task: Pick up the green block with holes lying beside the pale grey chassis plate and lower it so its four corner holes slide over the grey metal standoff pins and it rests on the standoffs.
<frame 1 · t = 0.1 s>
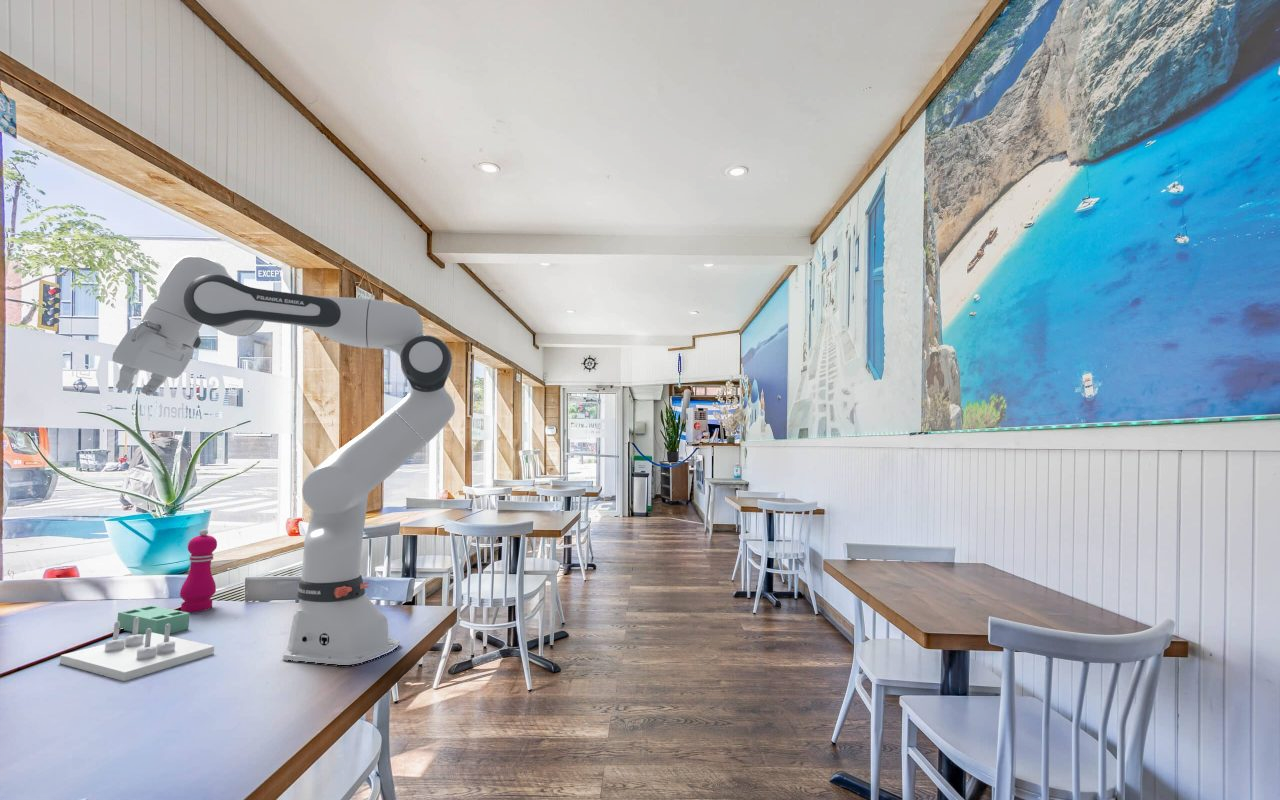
hand: (134, 392, 112), 52 cm above the table, tool tilted 20°, fingers open, 8 cm apart
pepper mill: (196, 609, 144), on the table
chassis: (139, 658, 110), on the table
green block with holes: (152, 628, 128), on the table
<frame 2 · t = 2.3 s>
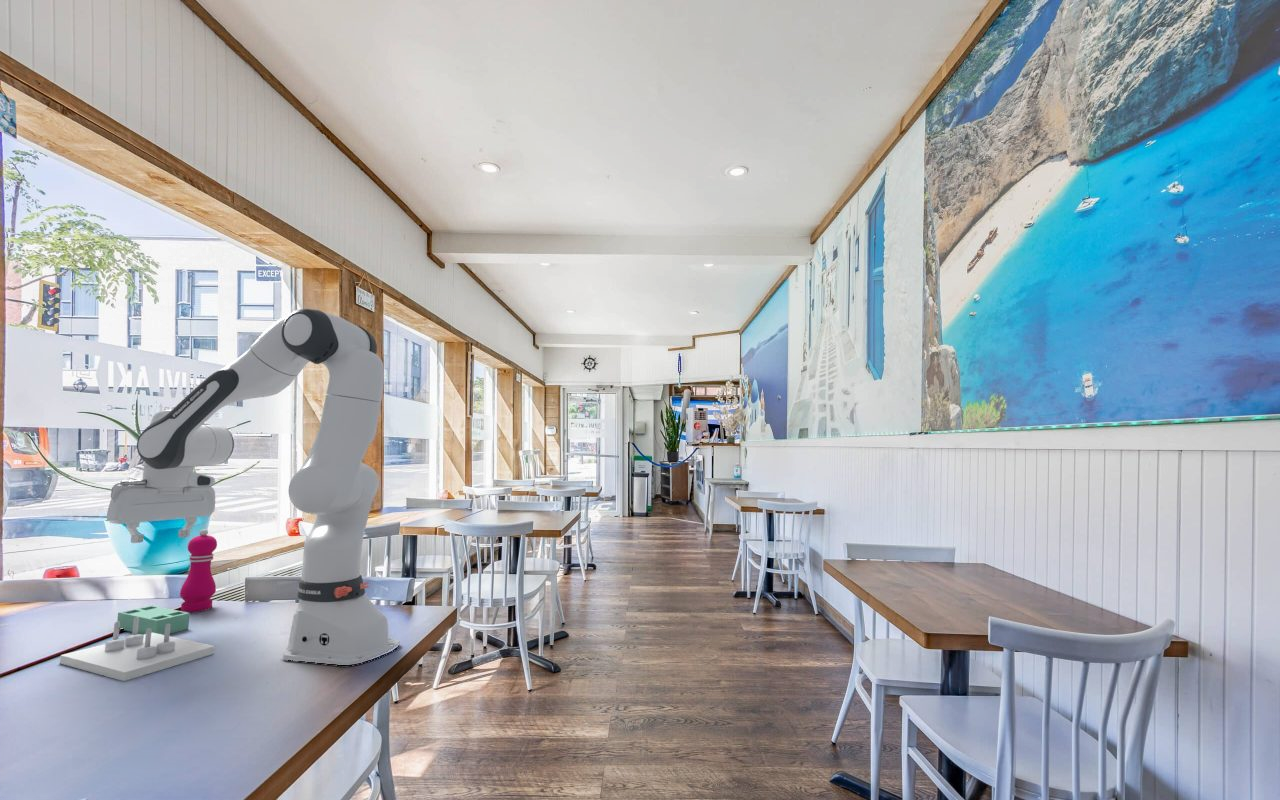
hand: (161, 539, 130), 20 cm above the table, tool pointing down, fingers open, 8 cm apart
nothing on the table moved.
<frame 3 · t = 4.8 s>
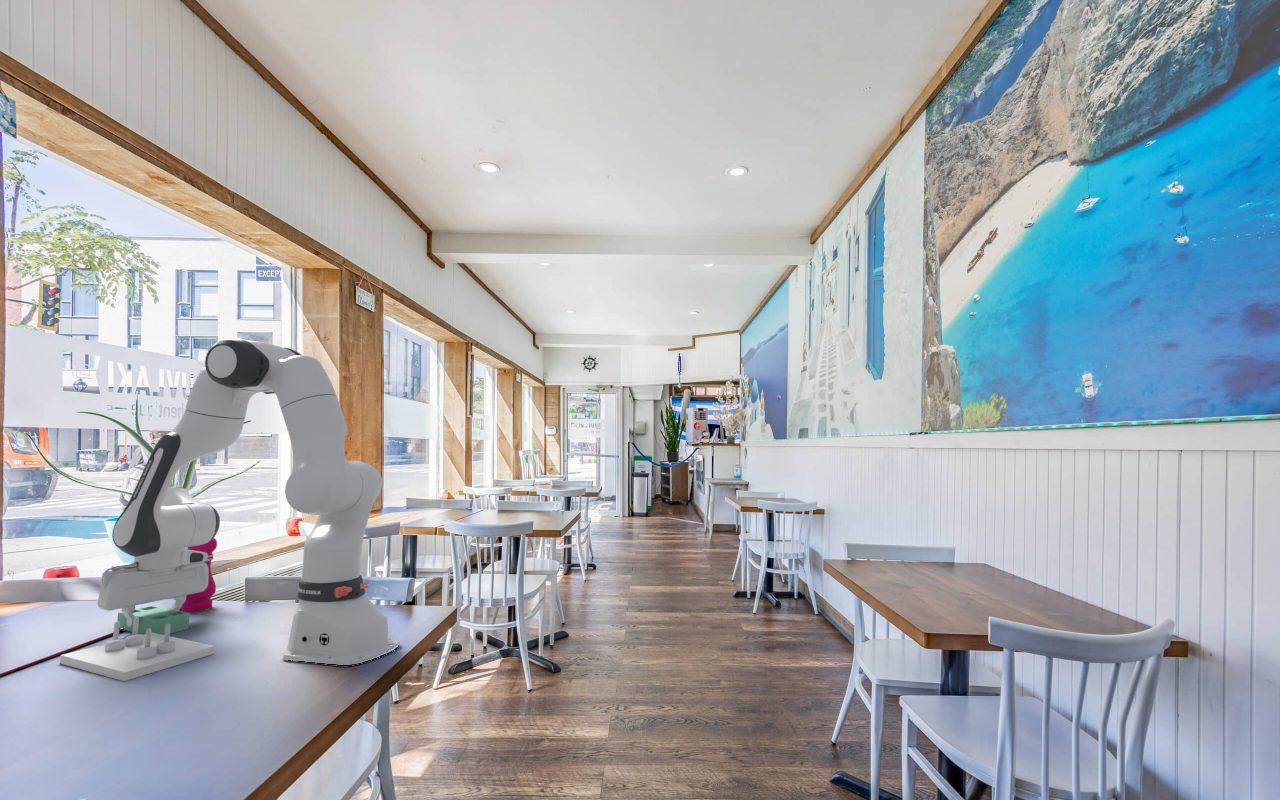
hand: (153, 620, 128), 2 cm above the table, tool pointing down, fingers closed on green block with holes, 6 cm apart
green block with holes: (152, 628, 128), on the table, touching gripper
everything else where it was.
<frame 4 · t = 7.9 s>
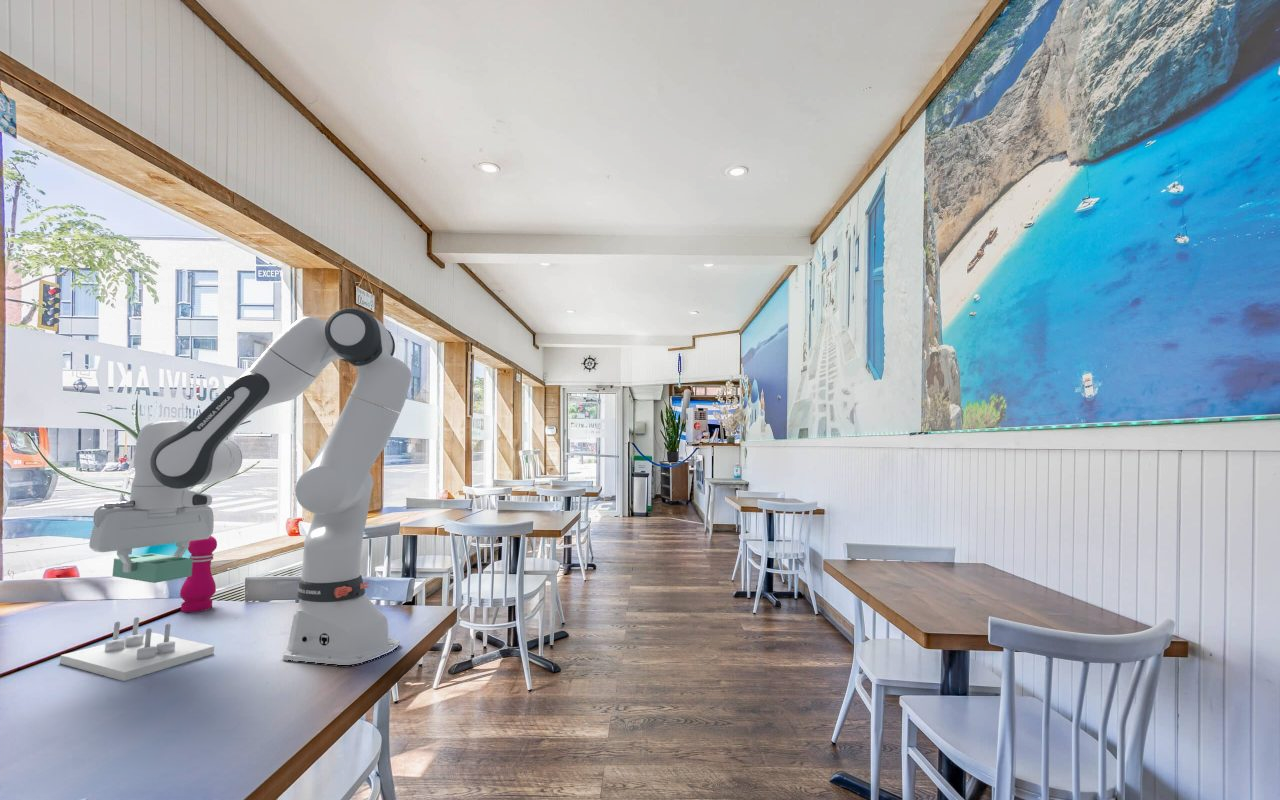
hand: (153, 567, 115), 17 cm above the table, tool pointing down, fingers closed on green block with holes, 6 cm apart
green block with holes: (152, 576, 115), point 15 cm above the table, touching gripper
everything else where it was.
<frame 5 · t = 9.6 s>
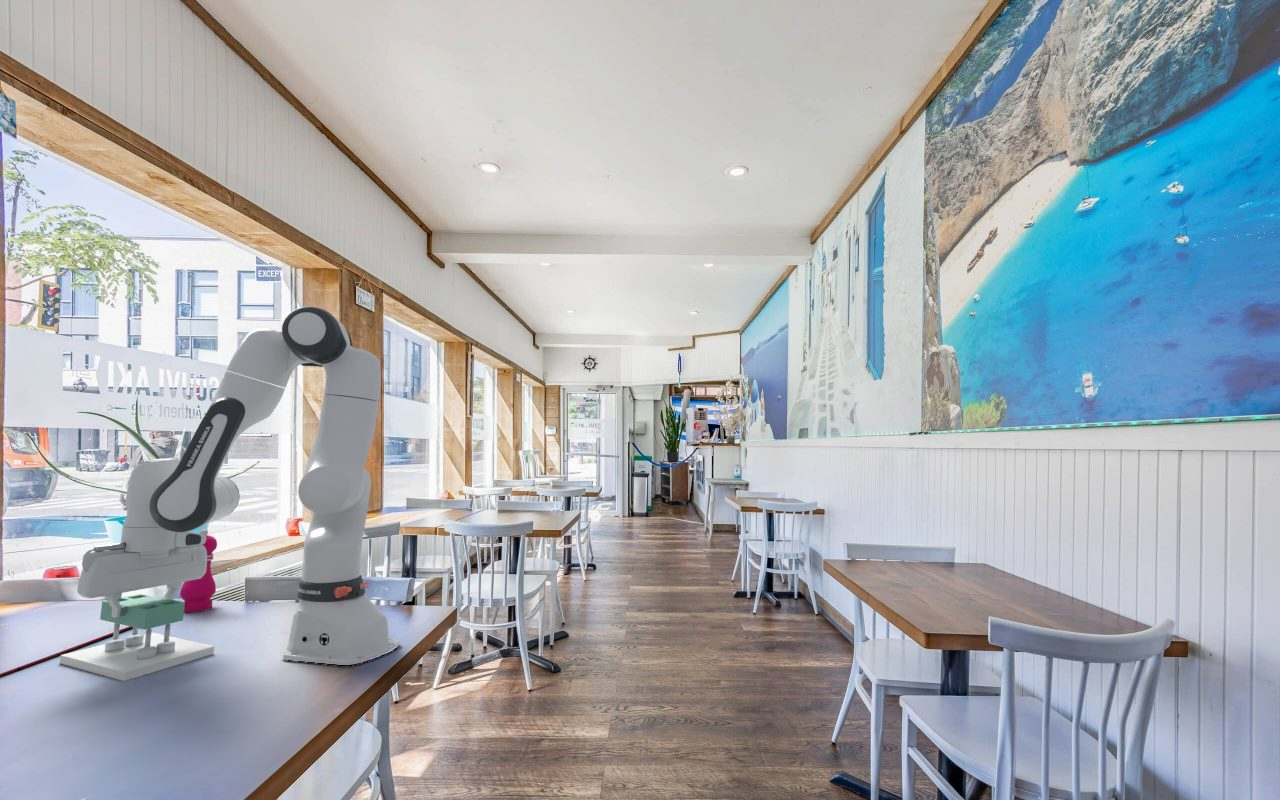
hand: (143, 611, 111), 9 cm above the table, tool pointing down, fingers closed on green block with holes, 6 cm apart
green block with holes: (141, 620, 111), point 7 cm above the table, touching gripper
everything else where it was.
when the fingers open (6 cm above the table, at t = 11.1 s): green block with holes drops 1 cm, resting on chassis.
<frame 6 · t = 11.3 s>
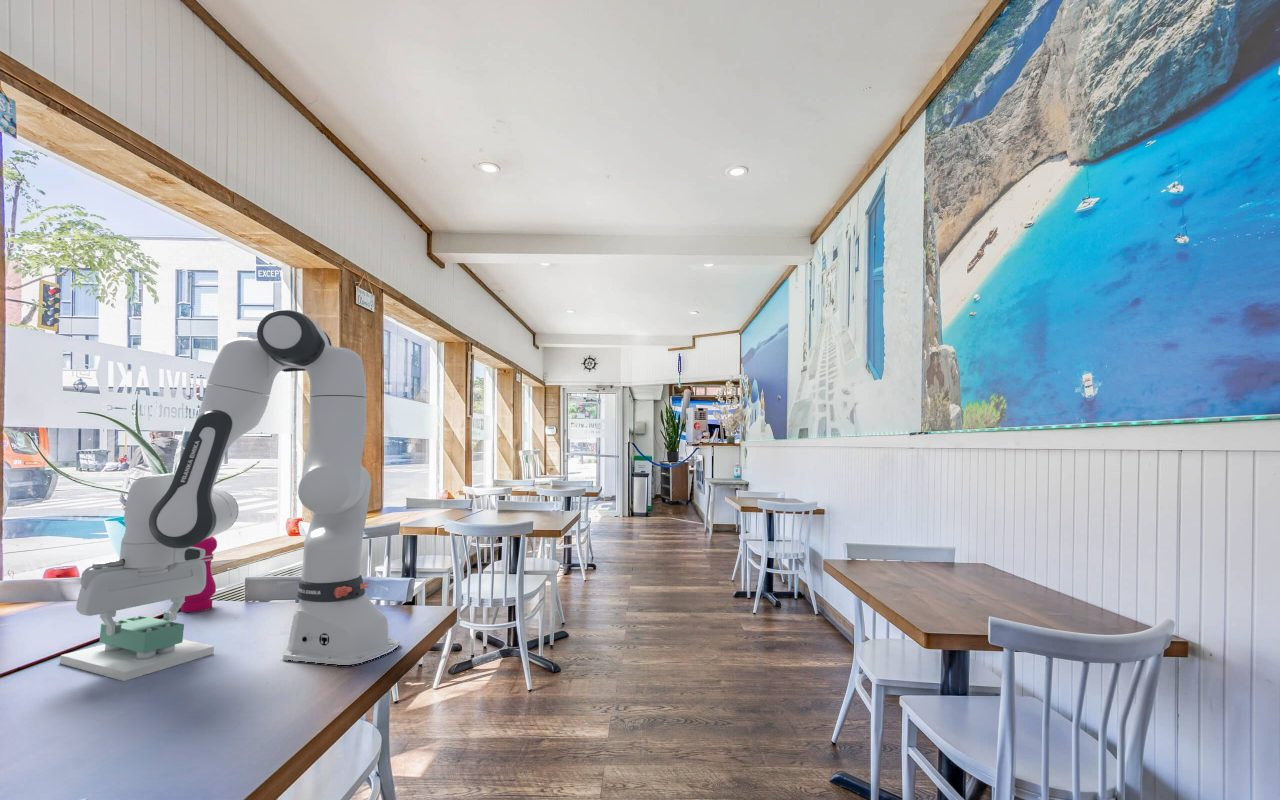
hand: (142, 627, 111), 6 cm above the table, tool pointing down, fingers open, 8 cm apart
green block with holes: (140, 642, 111), point 3 cm above the table, touching chassis
everything else where it was.
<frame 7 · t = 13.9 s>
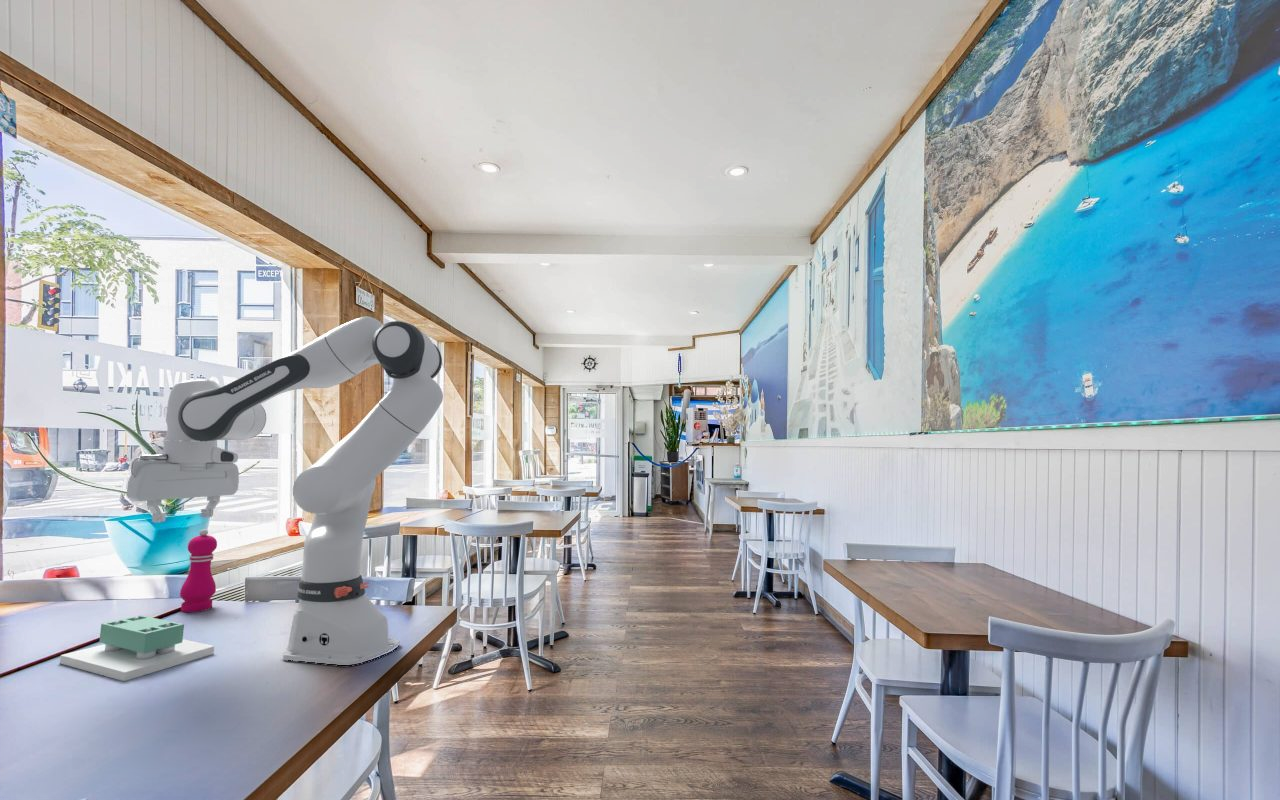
hand: (183, 519, 121), 26 cm above the table, tool pointing down, fingers open, 8 cm apart
nothing on the table moved.
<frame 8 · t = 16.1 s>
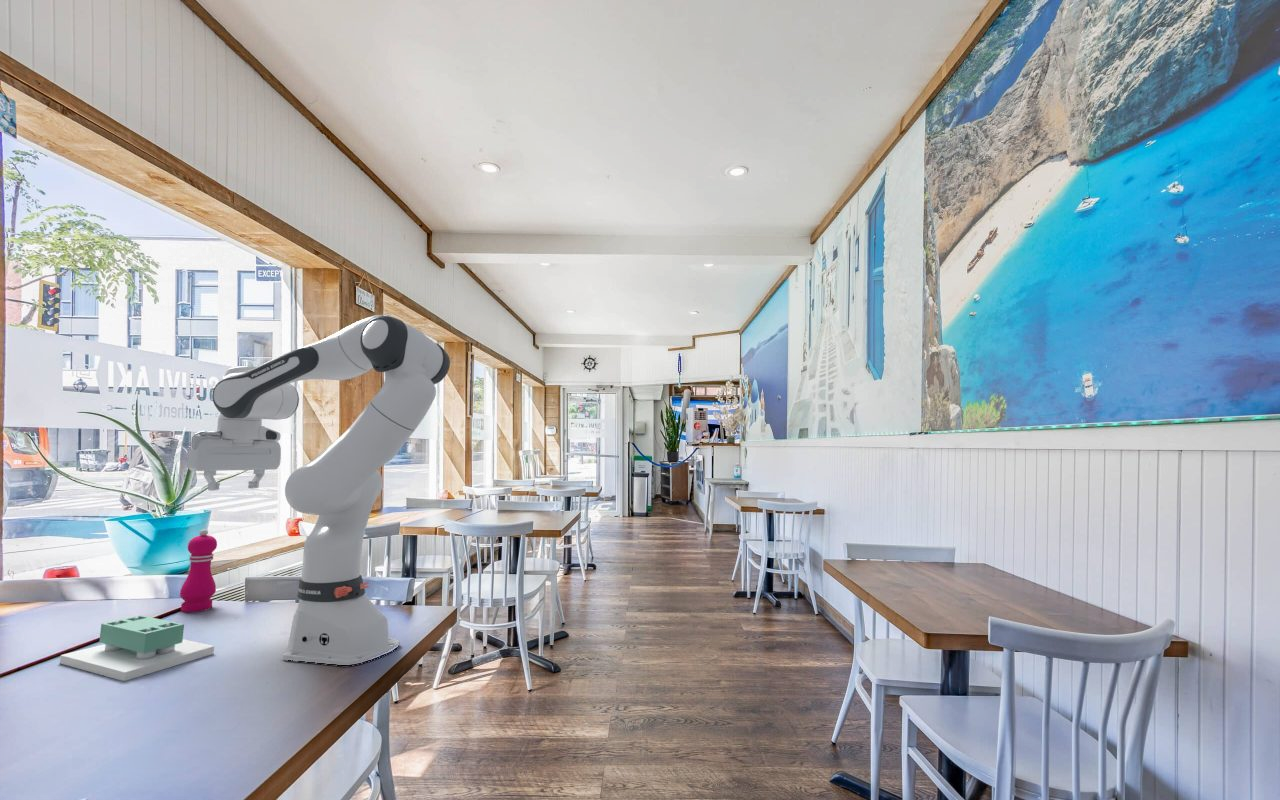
hand: (233, 489, 137), 31 cm above the table, tool pointing down, fingers open, 8 cm apart
nothing on the table moved.
at the end: green block with holes 0.1 cm off-centre on the chassis, point 3.0 cm above the chassis's base; green block with holes tilted 0°; the gripper is holding nothing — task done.
